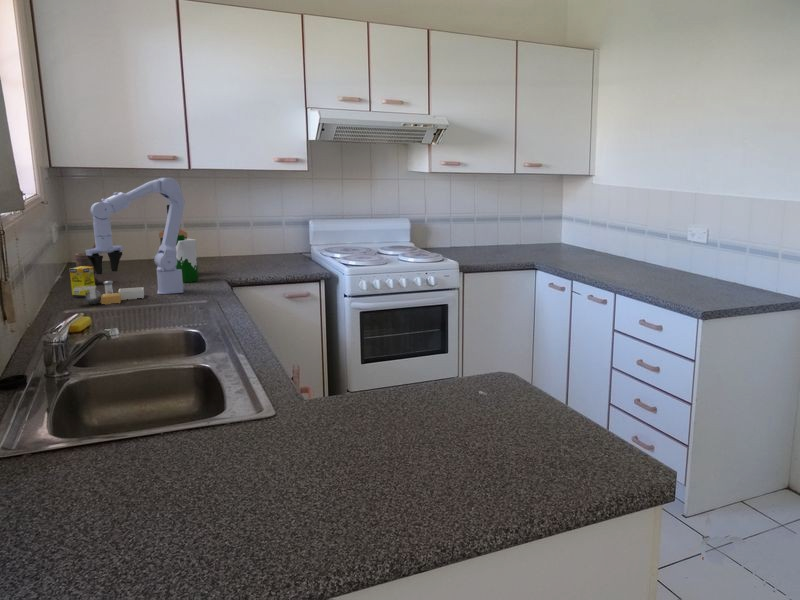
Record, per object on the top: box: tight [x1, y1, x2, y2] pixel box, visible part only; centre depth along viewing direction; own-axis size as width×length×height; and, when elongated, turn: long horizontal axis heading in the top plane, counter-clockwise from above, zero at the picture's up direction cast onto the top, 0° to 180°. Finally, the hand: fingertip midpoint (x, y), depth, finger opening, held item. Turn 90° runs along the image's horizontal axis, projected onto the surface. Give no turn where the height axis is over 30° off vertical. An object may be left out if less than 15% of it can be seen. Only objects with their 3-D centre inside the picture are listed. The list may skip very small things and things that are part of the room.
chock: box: [100, 292, 122, 305], centre depth 221 cm, size 6×5×3 cm
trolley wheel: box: [74, 285, 103, 305], centre depth 217 cm, size 8×5×6 cm, turn 111°
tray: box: [117, 286, 145, 301], centre depth 229 cm, size 8×7×3 cm
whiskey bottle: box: [158, 204, 189, 245], centre depth 272 cm, size 10×10×32 cm
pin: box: [102, 280, 114, 294], centre depth 226 cm, size 3×3×7 cm
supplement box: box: [69, 266, 96, 298], centre depth 232 cm, size 6×6×11 cm
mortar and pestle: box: [74, 242, 100, 285], centre depth 255 cm, size 12×9×20 cm
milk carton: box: [176, 235, 200, 284], centre depth 261 cm, size 9×9×20 cm
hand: (107, 272), depth 225 cm, fingers open, 6 cm apart
